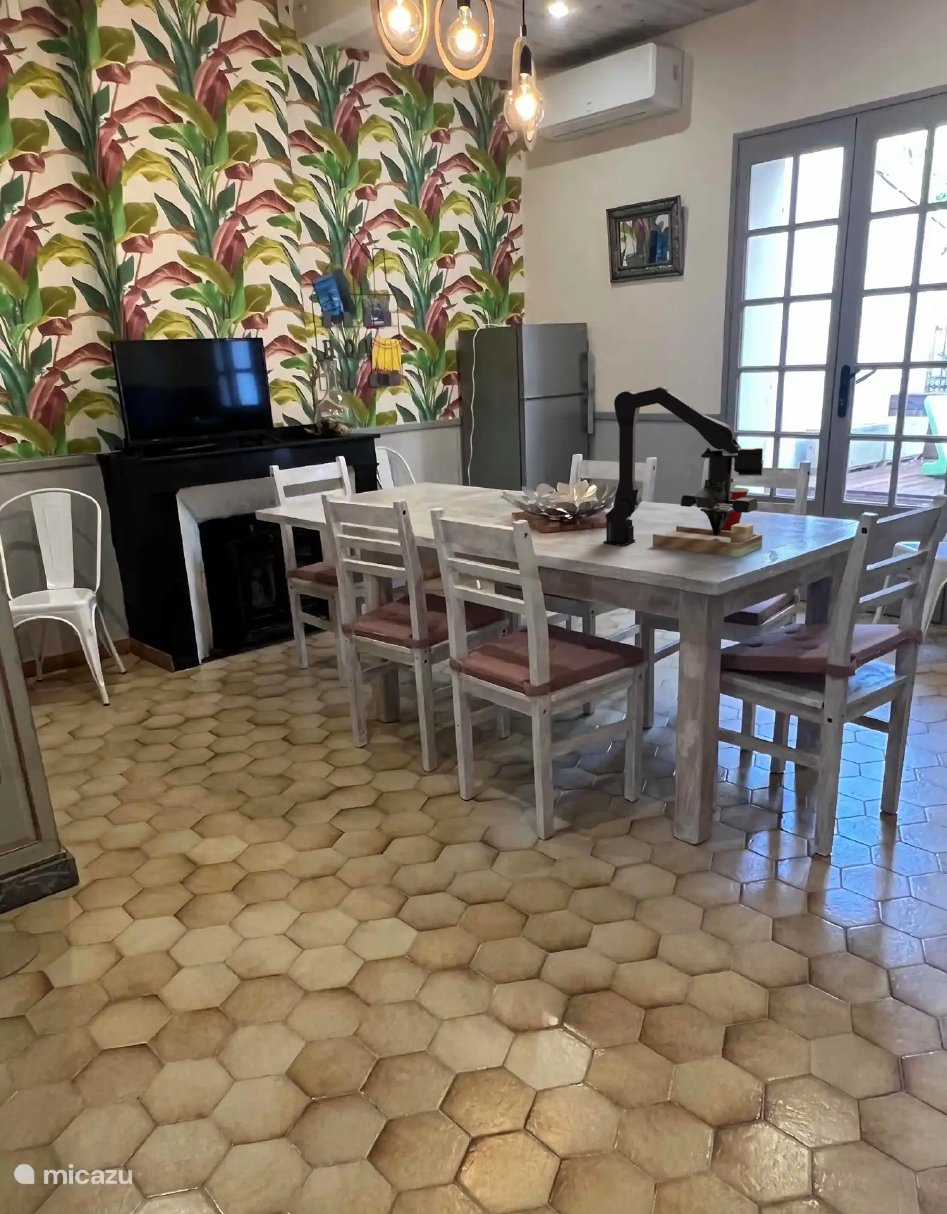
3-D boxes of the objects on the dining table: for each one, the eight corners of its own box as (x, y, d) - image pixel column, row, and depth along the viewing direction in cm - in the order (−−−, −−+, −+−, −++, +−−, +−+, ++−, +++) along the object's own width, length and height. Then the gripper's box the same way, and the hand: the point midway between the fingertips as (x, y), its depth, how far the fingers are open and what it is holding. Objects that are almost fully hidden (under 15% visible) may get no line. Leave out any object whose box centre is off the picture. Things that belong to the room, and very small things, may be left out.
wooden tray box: (652, 546, 219) (652, 534, 218) (677, 537, 228) (677, 525, 227) (739, 557, 203) (739, 544, 202) (761, 547, 212) (762, 534, 211)
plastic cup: (753, 528, 234) (755, 485, 231) (737, 535, 227) (739, 491, 223) (717, 524, 241) (719, 483, 238) (700, 531, 233) (701, 488, 230)
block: (730, 541, 211) (731, 525, 210) (737, 538, 214) (738, 523, 212) (745, 543, 208) (746, 527, 207) (752, 540, 211) (753, 524, 210)
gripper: (670, 476, 211) (668, 536, 216) (740, 482, 199) (736, 545, 203) (692, 471, 219) (689, 529, 223) (760, 476, 207) (756, 537, 211)
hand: (716, 535), depth 215 cm, fingers closed
